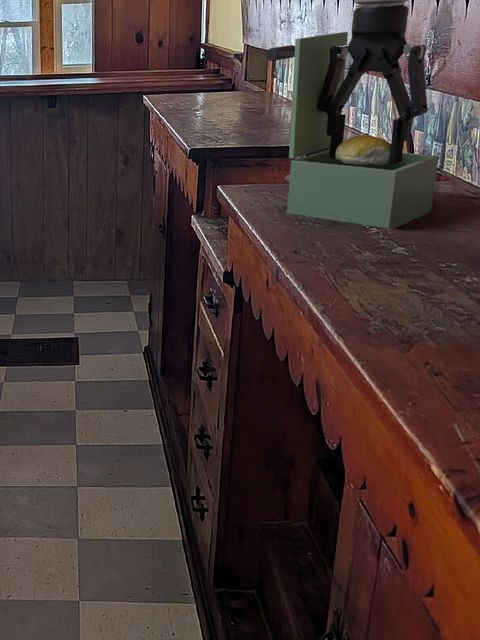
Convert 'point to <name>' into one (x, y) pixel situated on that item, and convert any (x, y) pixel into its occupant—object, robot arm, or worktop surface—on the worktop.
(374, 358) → the worktop surface
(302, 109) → the bin lid
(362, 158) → the bread roll
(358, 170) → the bread bin
